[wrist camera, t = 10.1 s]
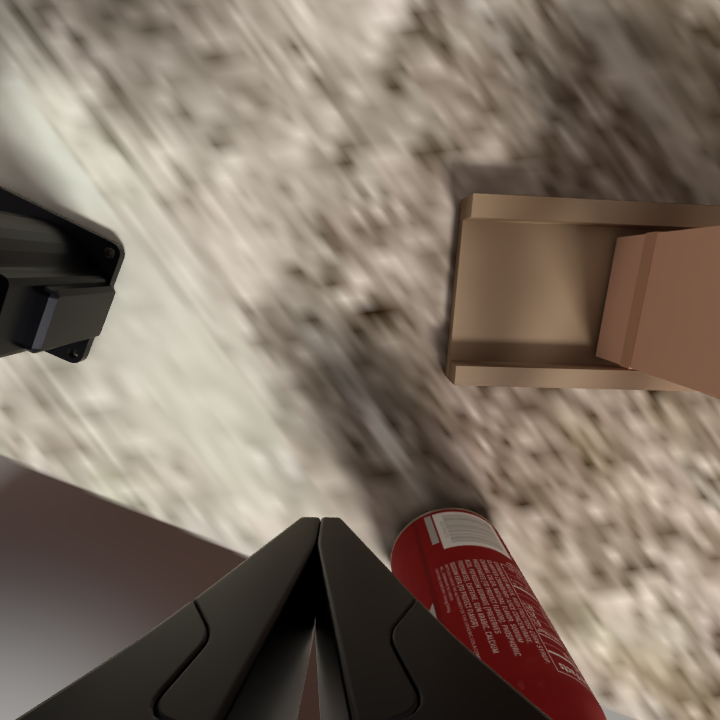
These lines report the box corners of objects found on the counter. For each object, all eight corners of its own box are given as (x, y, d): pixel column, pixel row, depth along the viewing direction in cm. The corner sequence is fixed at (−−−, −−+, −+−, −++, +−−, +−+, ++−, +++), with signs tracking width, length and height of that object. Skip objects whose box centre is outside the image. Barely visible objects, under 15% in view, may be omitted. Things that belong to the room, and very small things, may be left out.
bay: (444, 375, 21) (526, 460, 12) (461, 200, 19) (576, 133, 10) (751, 383, 22) (1055, 468, 13) (798, 216, 20) (1203, 170, 10)
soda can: (421, 483, 22) (505, 714, 11) (518, 524, 23) (691, 778, 12) (370, 572, 24) (396, 864, 12) (464, 608, 25) (572, 911, 13)
